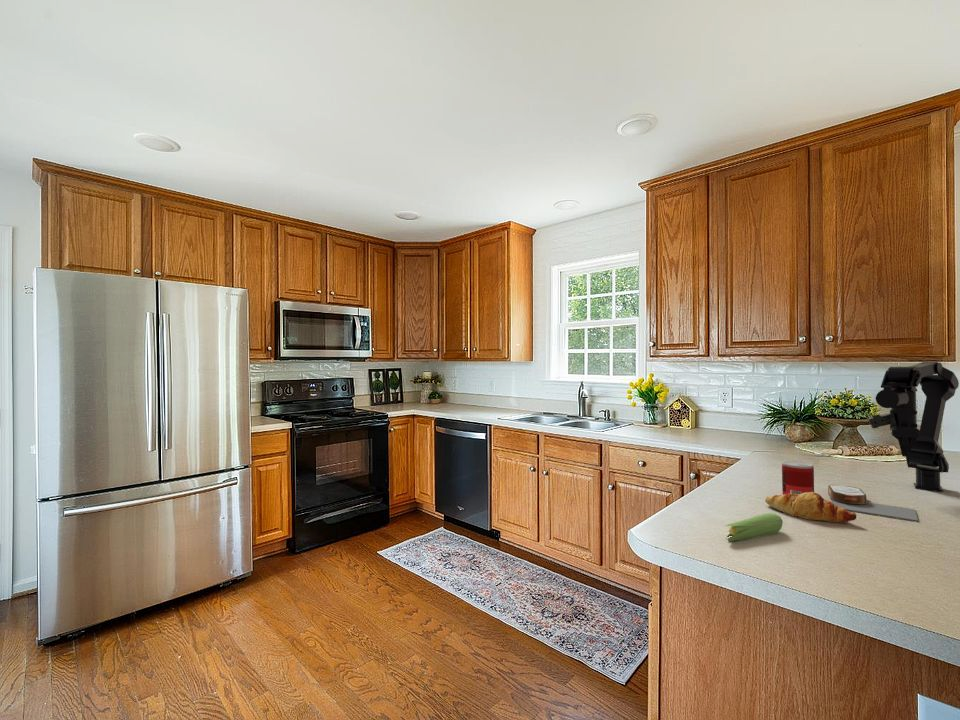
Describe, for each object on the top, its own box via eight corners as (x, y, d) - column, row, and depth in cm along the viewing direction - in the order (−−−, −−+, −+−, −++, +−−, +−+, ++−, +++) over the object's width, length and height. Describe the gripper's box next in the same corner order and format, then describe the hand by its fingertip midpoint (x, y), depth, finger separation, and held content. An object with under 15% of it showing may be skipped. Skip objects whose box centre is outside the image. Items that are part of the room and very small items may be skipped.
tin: (859, 494, 140) (825, 493, 145) (858, 484, 140) (824, 483, 145) (870, 506, 127) (833, 503, 132) (869, 494, 128) (831, 492, 132)
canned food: (820, 503, 133) (820, 466, 133) (793, 503, 133) (792, 466, 133) (802, 495, 140) (801, 460, 140) (776, 495, 140) (776, 460, 141)
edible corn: (791, 517, 110) (774, 506, 114) (731, 531, 103) (715, 519, 107) (786, 535, 111) (769, 524, 115) (726, 550, 104) (710, 538, 108)
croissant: (761, 519, 130) (755, 497, 128) (773, 497, 135) (767, 476, 133) (854, 540, 113) (849, 515, 111) (863, 514, 118) (858, 489, 116)
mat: (832, 498, 137) (832, 497, 137) (914, 510, 125) (914, 509, 125) (830, 507, 128) (830, 506, 128) (918, 521, 116) (918, 520, 116)
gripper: (869, 403, 152) (870, 448, 152) (869, 407, 138) (870, 458, 138) (914, 404, 145) (915, 452, 145) (920, 409, 131) (921, 462, 131)
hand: (904, 456), depth 140 cm, fingers closed
